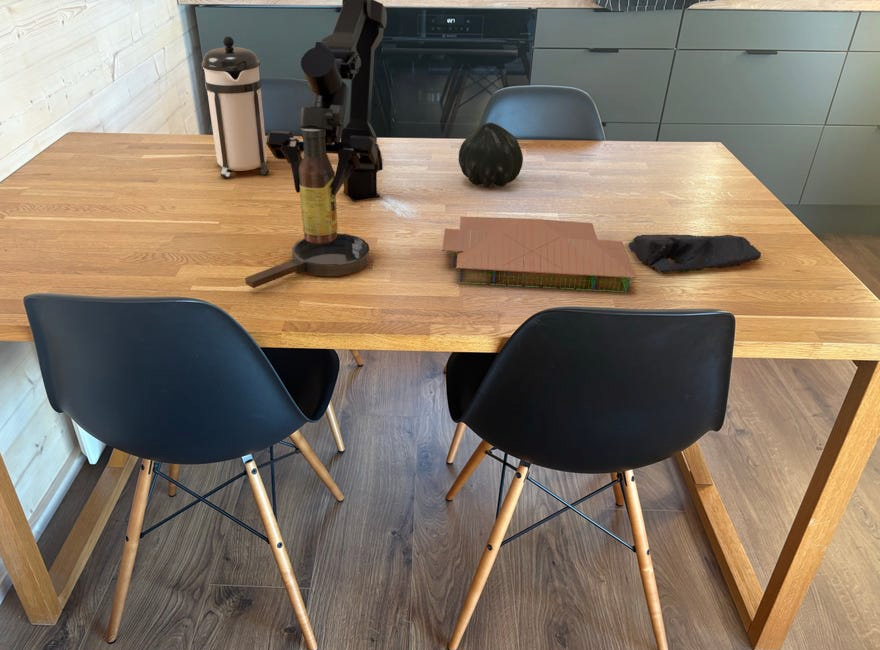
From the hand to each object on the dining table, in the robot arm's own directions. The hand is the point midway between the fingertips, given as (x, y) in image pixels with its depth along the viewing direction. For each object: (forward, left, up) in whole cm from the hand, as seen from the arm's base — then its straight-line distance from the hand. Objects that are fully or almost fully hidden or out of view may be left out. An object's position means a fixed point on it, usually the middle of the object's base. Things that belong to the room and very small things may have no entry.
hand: (315, 193), depth 121 cm
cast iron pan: (-2, 0, -13) cm, 13 cm away
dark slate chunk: (-65, +26, -13) cm, 72 cm away
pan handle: (+9, +4, -13) cm, 16 cm away
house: (-36, +15, -13) cm, 42 cm away
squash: (-51, -25, -13) cm, 59 cm away
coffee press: (0, -58, -13) cm, 59 cm away
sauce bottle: (-1, -1, -9) cm, 9 cm away
